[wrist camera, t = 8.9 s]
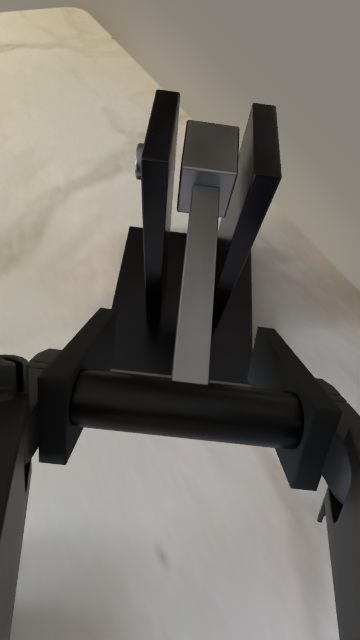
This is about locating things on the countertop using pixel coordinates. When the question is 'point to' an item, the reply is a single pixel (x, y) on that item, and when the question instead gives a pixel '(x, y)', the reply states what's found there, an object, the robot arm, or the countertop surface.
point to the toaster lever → (193, 333)
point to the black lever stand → (169, 251)
